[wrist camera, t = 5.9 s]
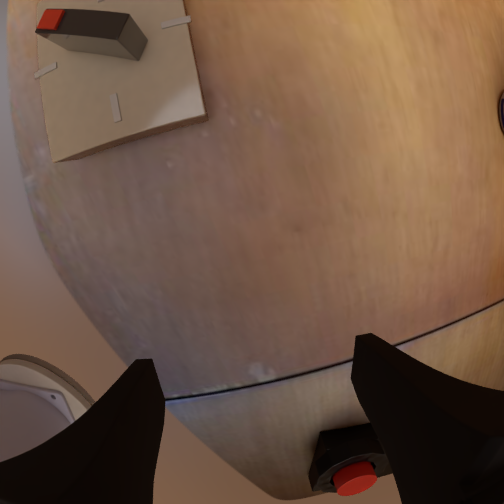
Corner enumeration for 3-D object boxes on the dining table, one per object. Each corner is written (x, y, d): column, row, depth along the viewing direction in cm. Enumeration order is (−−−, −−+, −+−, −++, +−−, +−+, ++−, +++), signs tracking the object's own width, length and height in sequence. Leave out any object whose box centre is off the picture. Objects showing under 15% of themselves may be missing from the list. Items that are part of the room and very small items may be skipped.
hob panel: (212, 120, 16) (210, 113, 13) (74, 161, 16) (47, 164, 13) (182, -26, 13) (177, -53, 10) (55, 19, 13) (32, 3, 10)
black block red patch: (148, 39, 12) (128, 10, 8) (139, 61, 12) (115, 38, 9) (76, 29, 11) (43, 6, 8) (67, 50, 11) (31, 31, 8)
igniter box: (301, 476, 27) (308, 506, 23) (313, 427, 24) (324, 462, 20) (392, 457, 28) (405, 482, 24) (418, 406, 25) (436, 433, 21)
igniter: (328, 484, 22) (333, 499, 21) (336, 464, 21) (342, 480, 19) (365, 476, 23) (370, 490, 21) (375, 456, 21) (382, 471, 20)
